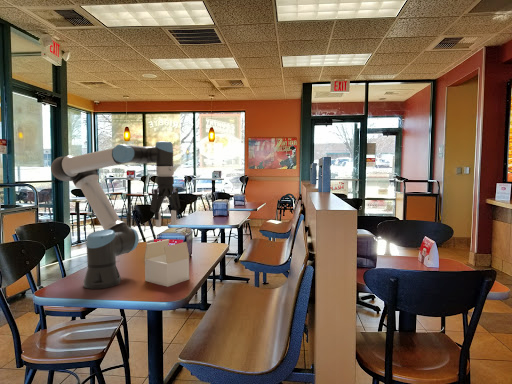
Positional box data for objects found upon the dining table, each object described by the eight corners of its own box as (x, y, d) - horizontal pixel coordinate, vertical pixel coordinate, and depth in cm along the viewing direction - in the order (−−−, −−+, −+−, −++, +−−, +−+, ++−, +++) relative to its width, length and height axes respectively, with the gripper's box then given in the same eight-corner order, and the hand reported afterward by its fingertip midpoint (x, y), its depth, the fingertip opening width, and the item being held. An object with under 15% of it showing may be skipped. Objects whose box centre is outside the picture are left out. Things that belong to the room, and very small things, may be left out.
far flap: (147, 244, 161) (146, 243, 161) (145, 259, 162) (144, 258, 163) (169, 239, 171) (168, 239, 171) (166, 253, 173) (166, 253, 173)
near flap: (167, 263, 154) (168, 263, 153) (163, 246, 154) (164, 246, 154) (188, 257, 164) (189, 257, 164) (185, 241, 165) (186, 241, 164)
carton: (167, 286, 154) (166, 263, 154) (145, 280, 163) (144, 259, 162) (189, 279, 165) (188, 257, 164) (167, 274, 173) (166, 253, 173)
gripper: (151, 176, 150) (152, 229, 152) (187, 175, 168) (188, 223, 169) (140, 176, 155) (141, 227, 156) (177, 175, 172) (177, 222, 173)
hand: (166, 225), depth 162 cm, fingers open, 8 cm apart
